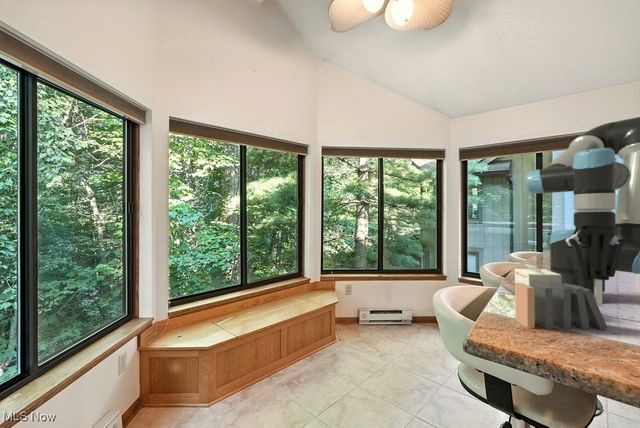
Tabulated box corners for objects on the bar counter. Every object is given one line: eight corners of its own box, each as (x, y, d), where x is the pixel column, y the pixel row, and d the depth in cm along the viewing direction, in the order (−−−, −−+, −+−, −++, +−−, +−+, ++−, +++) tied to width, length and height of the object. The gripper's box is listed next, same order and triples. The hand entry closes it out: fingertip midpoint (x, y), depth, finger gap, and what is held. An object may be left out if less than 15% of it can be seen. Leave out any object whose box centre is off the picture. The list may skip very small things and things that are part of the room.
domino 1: (521, 320, 74) (521, 283, 74) (534, 328, 69) (534, 288, 69) (515, 320, 74) (515, 282, 74) (527, 327, 69) (527, 287, 69)
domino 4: (573, 321, 73) (567, 283, 73) (589, 328, 68) (583, 288, 68) (566, 321, 73) (560, 284, 73) (582, 329, 68) (576, 289, 68)
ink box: (563, 317, 76) (563, 268, 76) (529, 315, 78) (528, 267, 78) (545, 306, 85) (544, 263, 85) (514, 305, 86) (513, 262, 86)
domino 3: (555, 321, 73) (555, 283, 73) (571, 329, 68) (570, 288, 68) (549, 321, 73) (549, 283, 73) (563, 329, 68) (563, 288, 68)
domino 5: (589, 320, 72) (573, 284, 73) (607, 327, 67) (590, 289, 68) (583, 322, 73) (567, 286, 73) (601, 330, 68) (583, 292, 68)
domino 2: (538, 320, 74) (538, 283, 74) (552, 328, 69) (552, 288, 69) (532, 320, 74) (531, 283, 74) (545, 328, 69) (545, 288, 69)
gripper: (607, 211, 73) (608, 300, 73) (554, 211, 74) (555, 299, 74) (637, 210, 66) (638, 310, 66) (578, 211, 67) (578, 308, 67)
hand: (594, 304), depth 70 cm, fingers closed
